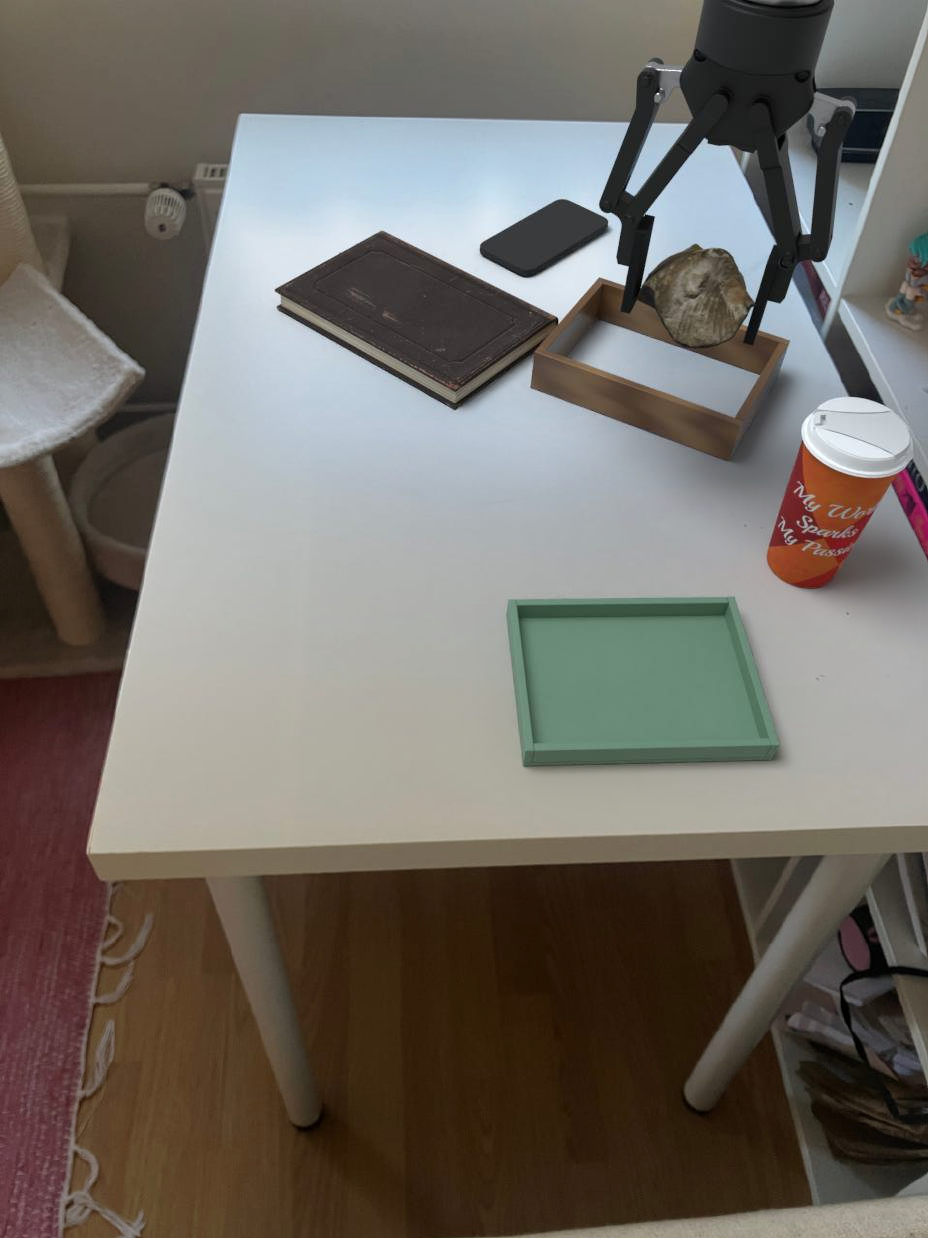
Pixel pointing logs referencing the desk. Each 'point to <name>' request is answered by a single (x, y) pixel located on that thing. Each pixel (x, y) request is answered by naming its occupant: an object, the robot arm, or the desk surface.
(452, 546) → the desk surface
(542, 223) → the phone
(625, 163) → the robot arm
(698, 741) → the tray
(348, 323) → the hardcover book
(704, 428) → the rectangular frame
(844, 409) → the paper cup
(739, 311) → the fossilized seashell
